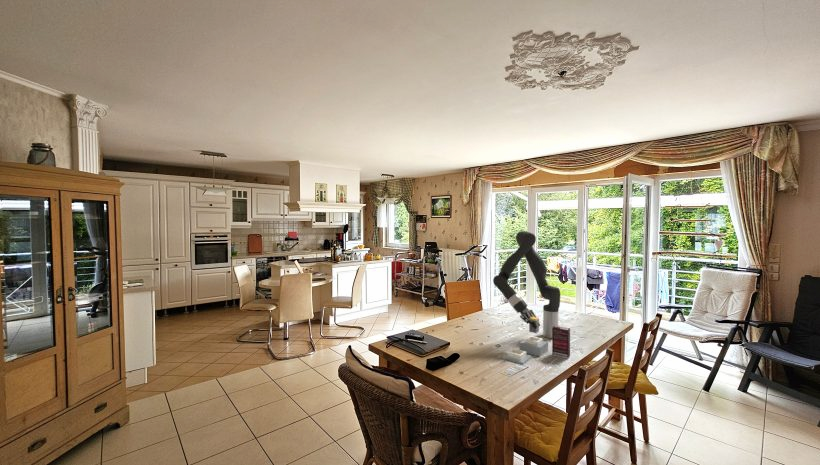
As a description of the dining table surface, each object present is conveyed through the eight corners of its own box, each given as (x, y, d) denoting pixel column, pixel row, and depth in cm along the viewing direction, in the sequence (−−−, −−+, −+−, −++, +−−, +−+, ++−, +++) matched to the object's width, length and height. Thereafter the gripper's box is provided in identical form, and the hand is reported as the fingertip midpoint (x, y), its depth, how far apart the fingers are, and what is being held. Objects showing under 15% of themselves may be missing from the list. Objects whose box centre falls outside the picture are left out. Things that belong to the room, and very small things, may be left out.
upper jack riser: (519, 351, 192) (519, 339, 191) (527, 345, 201) (527, 334, 200) (540, 356, 184) (540, 344, 183) (548, 350, 193) (548, 338, 192)
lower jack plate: (501, 358, 181) (501, 352, 181) (511, 352, 190) (511, 346, 190) (523, 364, 173) (523, 357, 173) (532, 357, 182) (532, 351, 182)
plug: (529, 331, 192) (529, 318, 192) (531, 330, 195) (532, 316, 195) (536, 333, 189) (536, 319, 189) (538, 331, 192) (538, 317, 192)
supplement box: (570, 356, 184) (570, 328, 184) (568, 359, 180) (568, 330, 180) (553, 352, 189) (554, 325, 189) (551, 355, 186) (552, 327, 185)
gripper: (516, 301, 191) (537, 326, 183) (526, 297, 202) (546, 320, 194) (508, 308, 195) (528, 333, 187) (518, 304, 205) (537, 327, 198)
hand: (537, 327), depth 191 cm, fingers closed on plug, 4 cm apart
